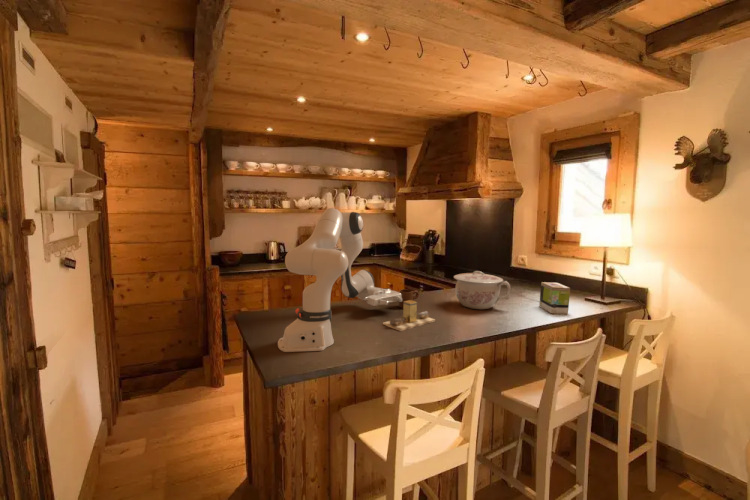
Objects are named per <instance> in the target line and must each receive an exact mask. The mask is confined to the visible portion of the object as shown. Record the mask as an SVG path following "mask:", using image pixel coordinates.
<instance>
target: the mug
mask: <svg viewBox="0 0 750 500" xmlns="http://www.w3.org/2000/svg"><path fill="white" fill-rule="evenodd" d="M398 292H399V293H401V296H402V297H401V298H402V302H398V306H399V307H398V308H400V309H403V308H404V301H408V300H412V301H415V300H416V299H418V298H419V295H420V293H419V291H418V290H416V289H415V290H411V289H406V288H405V289H404V288H403V289H400V290H399V291H398ZM414 294H415V296H414Z"/></svg>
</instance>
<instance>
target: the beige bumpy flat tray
mask: <svg viewBox="0 0 750 500" xmlns="http://www.w3.org/2000/svg"><path fill="white" fill-rule="evenodd" d="M429 316H430V314H429V312H428V311H427V310H425V311H421V312H417V314H416V321H415V322H411V323H409V322H406V318H405V317H403V316H401V317H396V318H393V319H390V320H388V321H385V322H384V321H383V322H382V325H383V326H386V327H388V328H391V329H394V330H397V331H399V332H403V331H407V330H410V329H414V328H417V327H420V326H424V325H427V324H430V323H434V322H436V319H435V318H433V317H429Z"/></svg>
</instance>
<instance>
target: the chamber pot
mask: <svg viewBox="0 0 750 500" xmlns="http://www.w3.org/2000/svg"><path fill="white" fill-rule="evenodd" d="M453 279H454V280H456V281H457V282H456V284H455V295H456V298H457V299H458V301H459V303H460V305H462V306H463V307H465V308H468V309H470V310H480V311H481V310H486V309H491V308H493V307H494V306H495V305H496V304H497V303H499V302H500V301H501V300H502V299H504V298H506V297H507V296H509V294H510V293H511V290H512V289H511V284H510V283H509V282H508V280H504V279H503V278H502V277H500V276H496V275H492V274H489V273H488V274H487V273H484V271H483V272H482V271H480V270H474V271H473V272H466V273H465V272H464V273H459V274H455V275H453ZM504 285H505V286H506V287H507V290H506V293H504V294H503V295H502V296H500V292H501V289H502V286H504Z"/></svg>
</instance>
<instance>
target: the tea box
mask: <svg viewBox="0 0 750 500" xmlns="http://www.w3.org/2000/svg"><path fill="white" fill-rule="evenodd" d="M570 295H571V287H569V286H566V285H564V284H562V283H559V282H552V281H551V282H546V281H544V282H543V281H541V283H540V295H539V304H538V305H539V307H540V308H542V309H543V310H545V311H546V312H548V313H550V314H557V315H558V314H559V315H560V314H561V315H568V314H569V307H570V298H571V297H570Z"/></svg>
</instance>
